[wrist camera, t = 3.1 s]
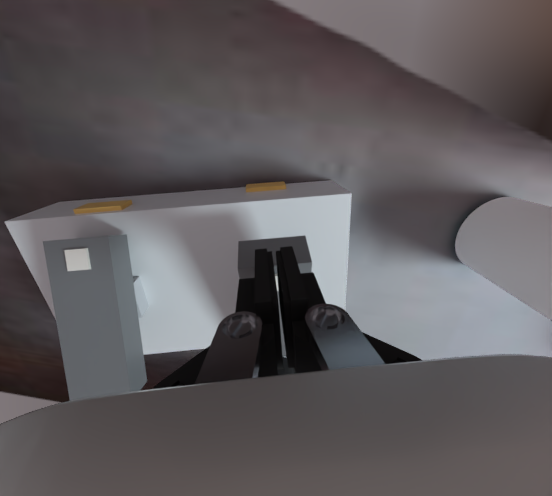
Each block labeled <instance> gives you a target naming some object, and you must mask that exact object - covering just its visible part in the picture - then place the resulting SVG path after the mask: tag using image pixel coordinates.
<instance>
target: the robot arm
mask: <svg viewBox="0 0 552 496" xmlns="http://www.w3.org/2000/svg"><path fill="white" fill-rule="evenodd" d="M276 262H277V276H278V290H279V303H280V312H281V319H282V327H283V334H284V342H285V350H286V357H287V365H288V368H294V374H285V375H278V369H283V356H282V343H281V330H280V316H279V304H278V295H277V287H276V279H275V271H274V263H273V255H272V251H267V248H265V249H255V277H254V278H245V279H239V284H238V292H237V301H236V309H235V313H233V314H230V315H229V316H227V317H225V318H224V319H223V320H222V321H221V322H220V324H219V325H218V328H217V330H216V333H215V335H214V337H213V340H212V342H211V345H210V346H209V347H207V348H206V349H205V350H203V351H202V352H201V353H199V354H198V355H196V356H195V357H194V358H192V359H191V360H190V361H188V362H187V363H186V364H184V365H183V366H181V367H180V368H179V369H177V370H176V371H175V372H173V373H172V374H171V375H169V376H168V377H166V378H165V379H164V380H162V381H161V382H160V383H158V384H157V385H156V386H155V387H154V388H153V389H149V390H140V391H131V392H123V393H116V394H109V395H102V396H95V397H88V398H82V399H77V400H72V401H68V402H63V403H58V404H55V405H52V406H48V407H45V408H41V409H38V410H35V411H32V412H29V413H27V414H24V415H21V416H19V417H16V418H14V419H11V420H9V421H6V422H4V423H1V424H0V496H552V357H544V356H533V355H522V354H497V355H482V356H467V357H454V358H444V359H433V360H421V359H419V358H417V357H416V356H414V355H411V354H409V353H407V352H405V351H403V350H400V349H398V348H396V347H394V346H391V345H389V344H387V343H385V342H383V341H380V340H378V339H376V338H374V337H371V336H369V335H367V334H365V333H363V332H361V330H360V329H359V328H358V326H357V325H356V324H355V322H354V321H353V320H352V318H351V317H350V316H349V314H348V313H347V312H346V311H345V310H344V309H342V308H341V307H339V306H336V305H333V304H326V302H325V300H324V297H323V295H322V292H321V290H320V287H319V285H318V282H317V280H316V277H315V275H314V273H313V272H310V273H300V269H299V266H298V263H297V260H296V257H295V253H294V250H293V247H292V246H288V247H280V250H279V251H276Z"/></svg>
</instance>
